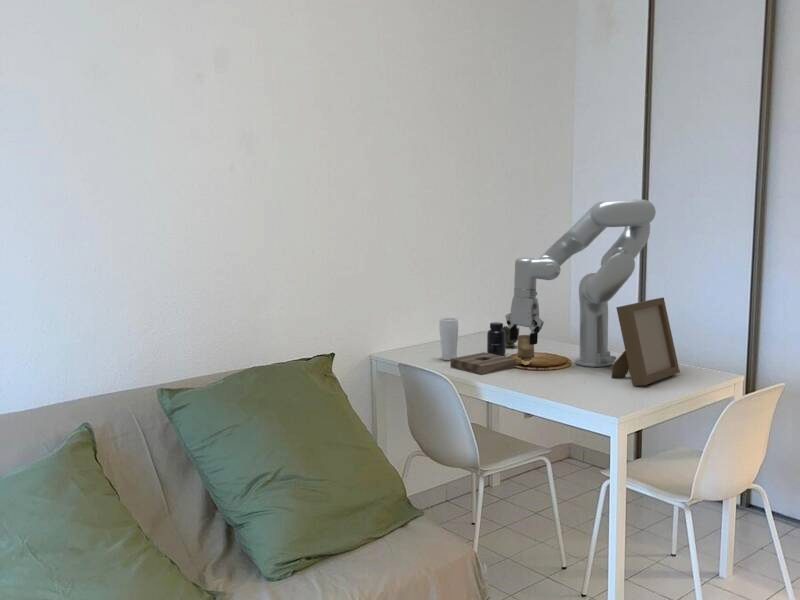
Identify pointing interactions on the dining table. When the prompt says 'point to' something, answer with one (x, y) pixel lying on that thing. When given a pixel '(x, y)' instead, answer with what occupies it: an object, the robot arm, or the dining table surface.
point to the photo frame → (646, 343)
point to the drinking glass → (449, 337)
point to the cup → (509, 342)
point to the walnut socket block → (483, 363)
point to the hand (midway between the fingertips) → (523, 342)
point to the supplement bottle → (496, 339)
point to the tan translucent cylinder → (525, 348)
